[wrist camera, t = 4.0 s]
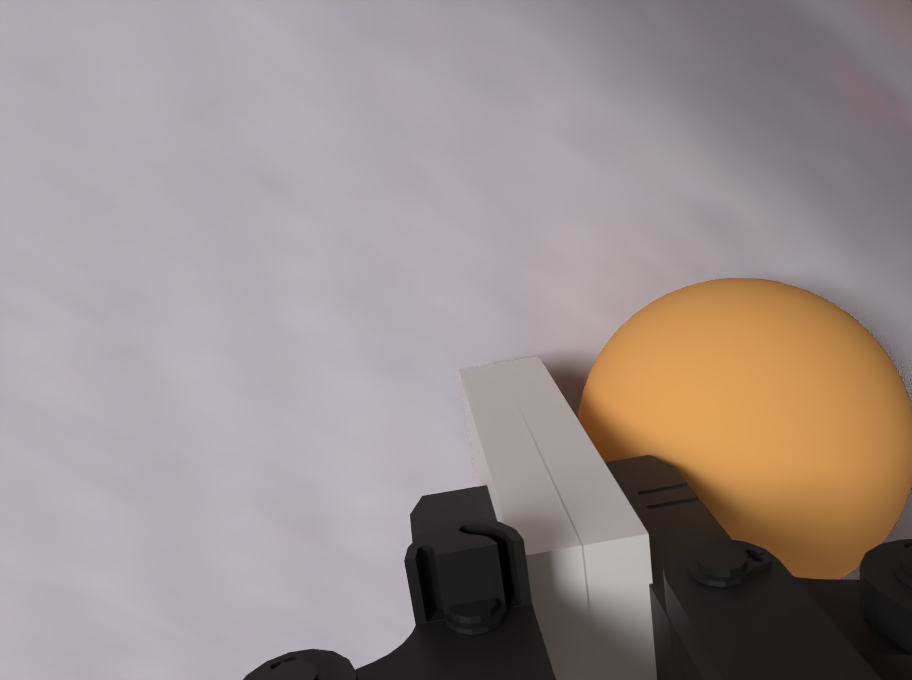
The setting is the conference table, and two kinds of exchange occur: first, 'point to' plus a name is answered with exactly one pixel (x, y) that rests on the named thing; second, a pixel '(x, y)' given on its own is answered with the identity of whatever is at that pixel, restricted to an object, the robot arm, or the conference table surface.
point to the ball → (762, 417)
